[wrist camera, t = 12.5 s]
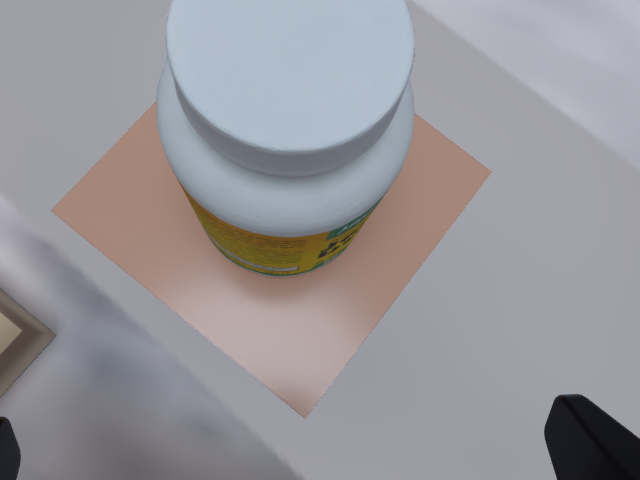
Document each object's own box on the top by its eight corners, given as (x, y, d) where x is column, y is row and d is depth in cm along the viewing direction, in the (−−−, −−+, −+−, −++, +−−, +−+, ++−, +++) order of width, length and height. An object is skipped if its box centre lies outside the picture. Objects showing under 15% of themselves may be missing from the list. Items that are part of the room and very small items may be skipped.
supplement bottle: (240, 93, 19) (213, -166, 10) (389, 158, 19) (504, -38, 10) (166, 239, 18) (54, 103, 9) (325, 309, 18) (387, 249, 9)
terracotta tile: (483, 179, 20) (491, 171, 19) (303, 416, 18) (305, 419, 17) (259, 8, 21) (258, -6, 20) (59, 217, 19) (50, 210, 18)
